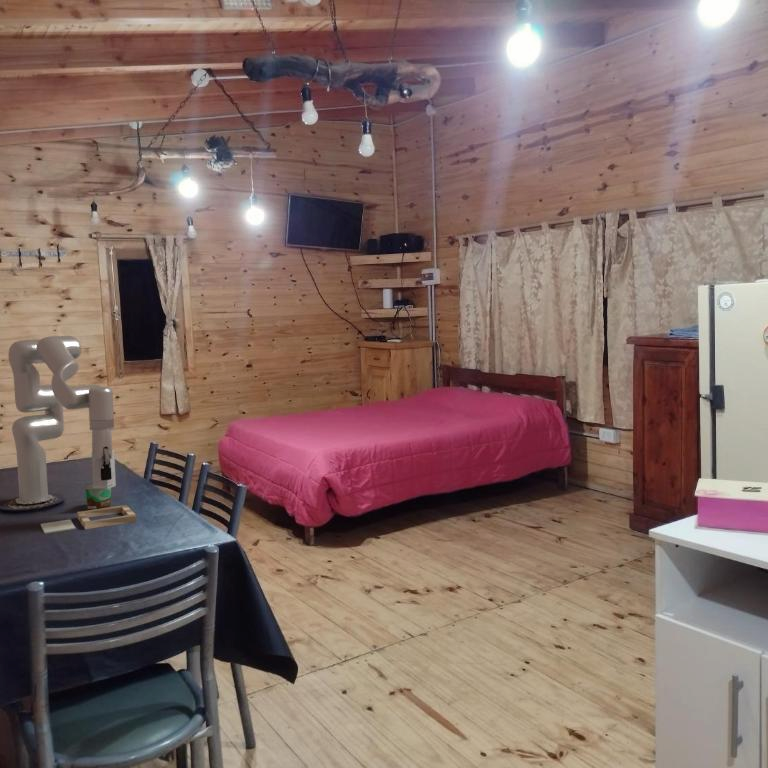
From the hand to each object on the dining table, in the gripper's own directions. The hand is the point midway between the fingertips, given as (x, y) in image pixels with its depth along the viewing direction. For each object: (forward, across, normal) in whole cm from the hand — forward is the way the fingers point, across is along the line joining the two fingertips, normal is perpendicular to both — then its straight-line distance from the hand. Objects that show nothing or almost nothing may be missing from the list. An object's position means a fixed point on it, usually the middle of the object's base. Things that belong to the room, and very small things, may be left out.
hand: (104, 477), depth 239 cm
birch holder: (+14, 0, 0) cm, 14 cm away
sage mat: (+14, 0, -15) cm, 21 cm away
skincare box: (+4, 0, 0) cm, 4 cm away
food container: (+15, -16, +2) cm, 22 cm away
